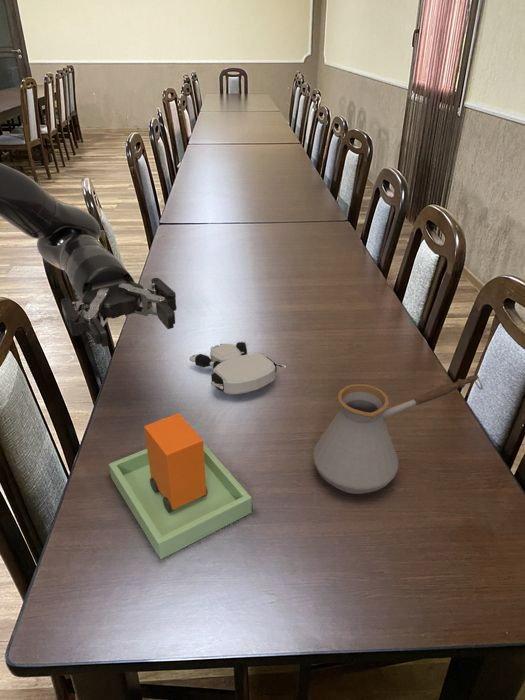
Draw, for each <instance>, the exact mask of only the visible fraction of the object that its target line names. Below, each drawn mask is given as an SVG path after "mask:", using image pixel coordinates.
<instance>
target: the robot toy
mask: <svg viewBox="0 0 525 700" xmlns="http://www.w3.org/2000/svg"><path fill="white" fill-rule="evenodd" d="M247 353H248V349H247V344H246V342H245V341H237V342H236V344H235V345H234V344H233V343H220V345H219V344H217V345H212V346H211V347H210V351H209V354H210V356H209V355H206V354H202V353H199V354H193V355H191V356H189V358H188V359H189V361H190V362H192V363H195V366H197V367H200V368H207V367H212V368H213V370H212V373H211V375H210V376H211V377H210V378H211V381H210V384H211V386H212V387H214V388H216V389H217V390H219V391H220V392H223V393H225V394H226V395H240V394H246V393H247V394H248V393H251V392H254V391H255V392H256V391H258V390H259V389H260V390H261V389H262V388H263V387H266V386H267V385H269V384H270V383H272V382H273V381H274V380H275V379H276V373H277V372H278V371H277V367H280V368H283V369H287V366H286V365H283V364H280V363H277V362H276V361H273V360H272V359H270V358H269V356H265V355H264V354H261V353H249V354H247Z"/></svg>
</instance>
